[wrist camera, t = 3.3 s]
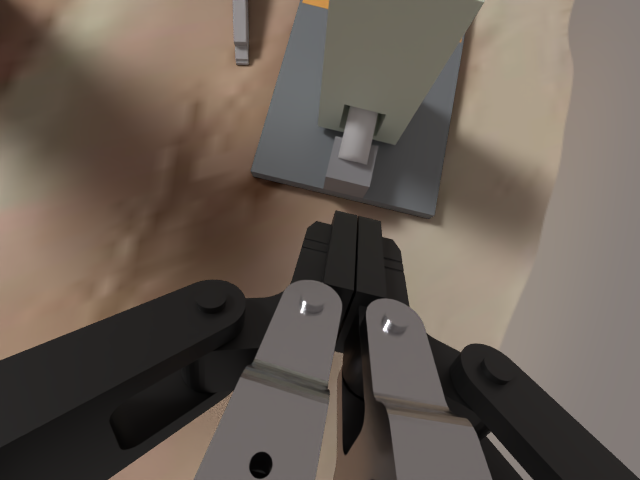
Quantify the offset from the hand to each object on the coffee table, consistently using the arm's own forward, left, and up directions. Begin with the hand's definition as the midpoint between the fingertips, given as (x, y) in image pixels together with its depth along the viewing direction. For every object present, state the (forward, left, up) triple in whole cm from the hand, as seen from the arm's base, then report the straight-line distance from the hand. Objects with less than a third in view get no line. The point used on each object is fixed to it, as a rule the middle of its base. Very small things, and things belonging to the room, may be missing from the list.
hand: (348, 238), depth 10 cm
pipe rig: (0, +18, -13) cm, 22 cm away
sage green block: (0, +13, -11) cm, 17 cm away
